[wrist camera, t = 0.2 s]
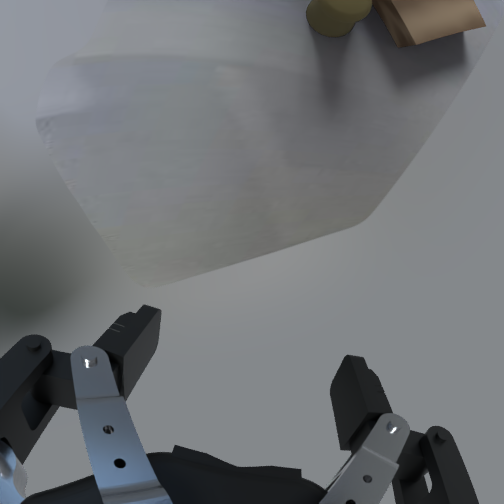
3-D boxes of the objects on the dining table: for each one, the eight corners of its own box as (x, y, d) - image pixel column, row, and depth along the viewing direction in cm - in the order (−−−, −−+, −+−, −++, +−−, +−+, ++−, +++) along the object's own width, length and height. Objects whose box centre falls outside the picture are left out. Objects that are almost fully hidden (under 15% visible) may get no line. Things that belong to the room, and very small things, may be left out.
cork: (364, 18, 25) (393, 1, 16) (333, 46, 28) (352, 35, 19) (327, -13, 24) (342, -42, 15) (295, 15, 27) (299, -8, 18)
